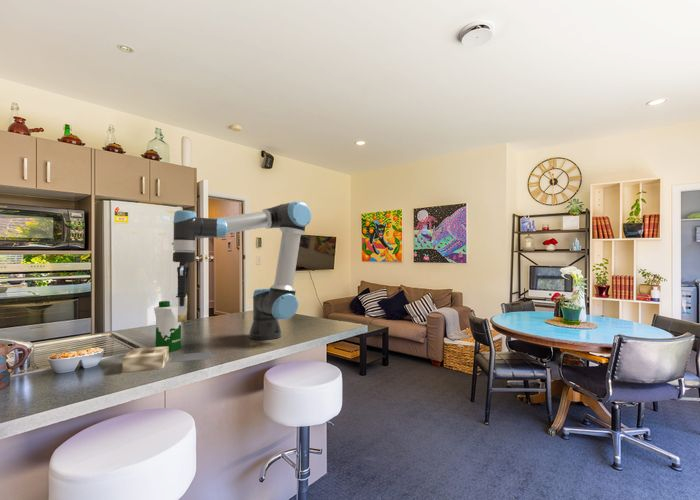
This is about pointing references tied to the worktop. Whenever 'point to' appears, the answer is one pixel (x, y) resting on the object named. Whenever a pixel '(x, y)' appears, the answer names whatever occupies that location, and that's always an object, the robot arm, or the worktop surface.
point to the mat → (191, 356)
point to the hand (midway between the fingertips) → (182, 314)
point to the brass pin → (183, 317)
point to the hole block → (145, 359)
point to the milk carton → (167, 326)
